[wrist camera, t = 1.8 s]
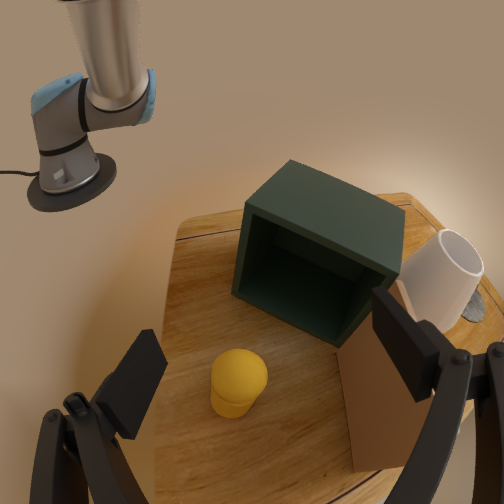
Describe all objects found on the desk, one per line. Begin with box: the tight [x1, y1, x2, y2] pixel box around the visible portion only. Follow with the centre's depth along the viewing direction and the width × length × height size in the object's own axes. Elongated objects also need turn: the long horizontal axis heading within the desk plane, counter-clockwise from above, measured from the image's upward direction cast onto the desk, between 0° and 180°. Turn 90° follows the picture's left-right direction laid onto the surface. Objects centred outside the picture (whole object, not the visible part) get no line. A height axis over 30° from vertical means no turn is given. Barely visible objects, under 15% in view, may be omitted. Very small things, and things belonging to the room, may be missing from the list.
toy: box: [211, 349, 268, 418], centre depth 24 cm, size 5×5×11 cm
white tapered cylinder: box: [396, 229, 484, 334], centre depth 34 cm, size 13×13×14 cm
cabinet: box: [231, 160, 405, 348], centre depth 34 cm, size 12×16×15 cm
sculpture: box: [461, 285, 485, 322], centre depth 43 cm, size 12×9×8 cm
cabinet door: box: [336, 280, 460, 473], centre depth 23 cm, size 6×16×15 cm, turn 2°
